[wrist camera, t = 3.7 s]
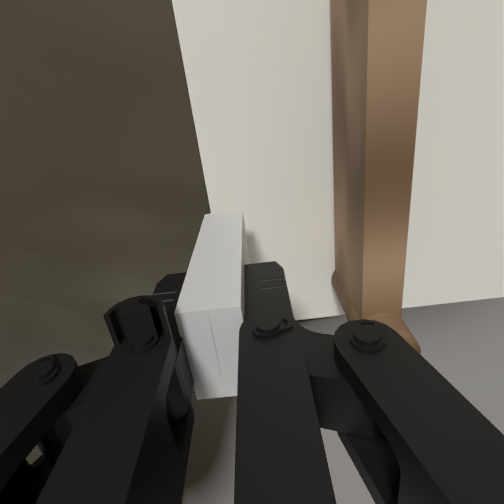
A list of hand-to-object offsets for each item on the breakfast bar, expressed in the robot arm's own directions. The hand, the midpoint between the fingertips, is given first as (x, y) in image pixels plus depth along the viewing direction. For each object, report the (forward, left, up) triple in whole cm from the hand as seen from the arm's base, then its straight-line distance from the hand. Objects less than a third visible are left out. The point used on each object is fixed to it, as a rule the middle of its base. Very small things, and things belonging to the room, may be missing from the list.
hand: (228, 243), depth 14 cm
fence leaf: (+5, +3, -1) cm, 6 cm away
